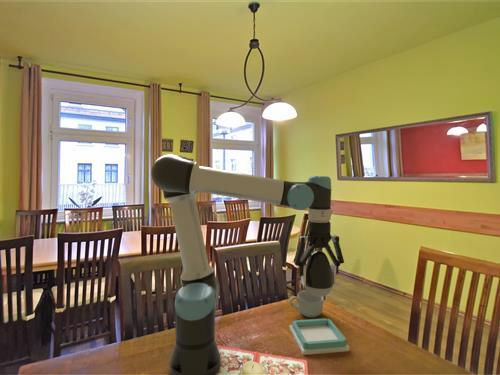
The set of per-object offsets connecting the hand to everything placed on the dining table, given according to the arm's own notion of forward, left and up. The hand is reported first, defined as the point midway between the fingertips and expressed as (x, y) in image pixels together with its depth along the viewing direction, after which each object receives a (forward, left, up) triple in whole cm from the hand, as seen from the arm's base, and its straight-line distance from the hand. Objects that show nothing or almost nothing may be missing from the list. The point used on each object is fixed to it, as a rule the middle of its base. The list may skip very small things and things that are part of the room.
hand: (318, 283), depth 101 cm
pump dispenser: (0, 0, -4) cm, 4 cm away
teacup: (+2, +18, -20) cm, 27 cm away
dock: (0, 0, -20) cm, 20 cm away
